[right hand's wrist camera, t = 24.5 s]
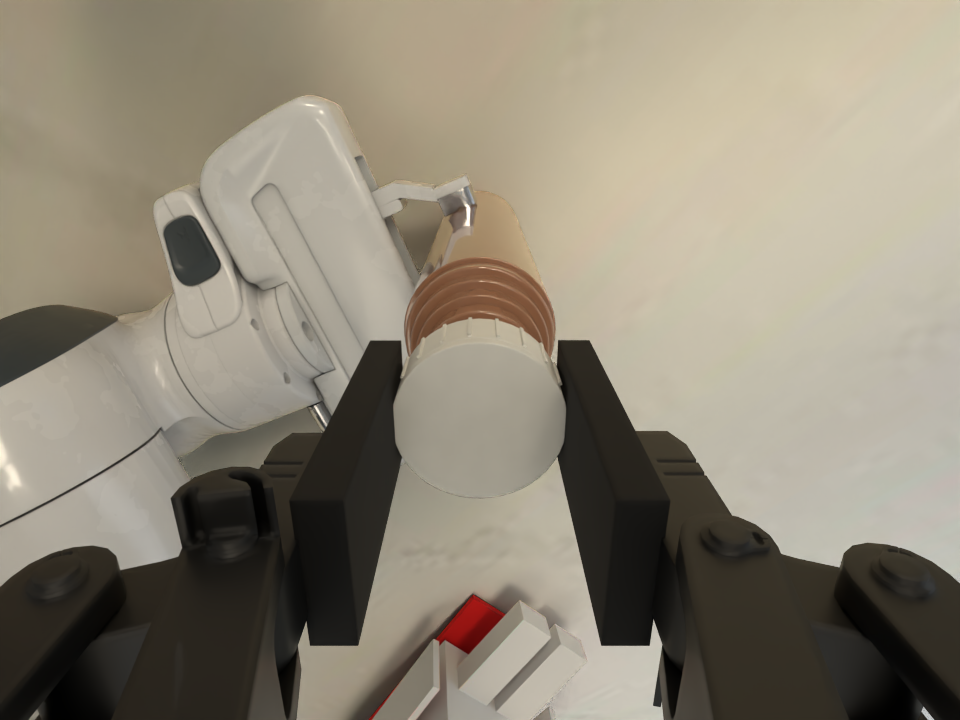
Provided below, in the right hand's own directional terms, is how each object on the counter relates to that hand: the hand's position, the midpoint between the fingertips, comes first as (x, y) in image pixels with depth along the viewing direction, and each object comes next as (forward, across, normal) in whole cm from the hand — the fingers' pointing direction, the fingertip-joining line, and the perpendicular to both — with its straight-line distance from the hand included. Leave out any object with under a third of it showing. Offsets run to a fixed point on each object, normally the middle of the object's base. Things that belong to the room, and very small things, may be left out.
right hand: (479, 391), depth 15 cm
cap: (-1, 0, 0) cm, 1 cm away
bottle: (+24, 0, 0) cm, 24 cm away
